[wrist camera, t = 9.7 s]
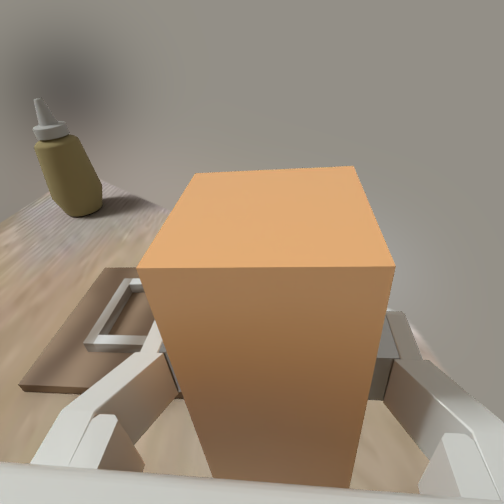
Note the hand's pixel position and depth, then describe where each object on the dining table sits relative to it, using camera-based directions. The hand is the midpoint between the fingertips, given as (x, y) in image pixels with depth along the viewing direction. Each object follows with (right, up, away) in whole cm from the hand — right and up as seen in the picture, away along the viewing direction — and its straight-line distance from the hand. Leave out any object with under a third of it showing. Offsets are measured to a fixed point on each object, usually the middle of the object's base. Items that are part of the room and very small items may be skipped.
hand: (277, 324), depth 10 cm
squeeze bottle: (-30, +9, +48) cm, 57 cm away
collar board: (-11, -5, +24) cm, 27 cm away
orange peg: (0, -5, +2) cm, 6 cm away
